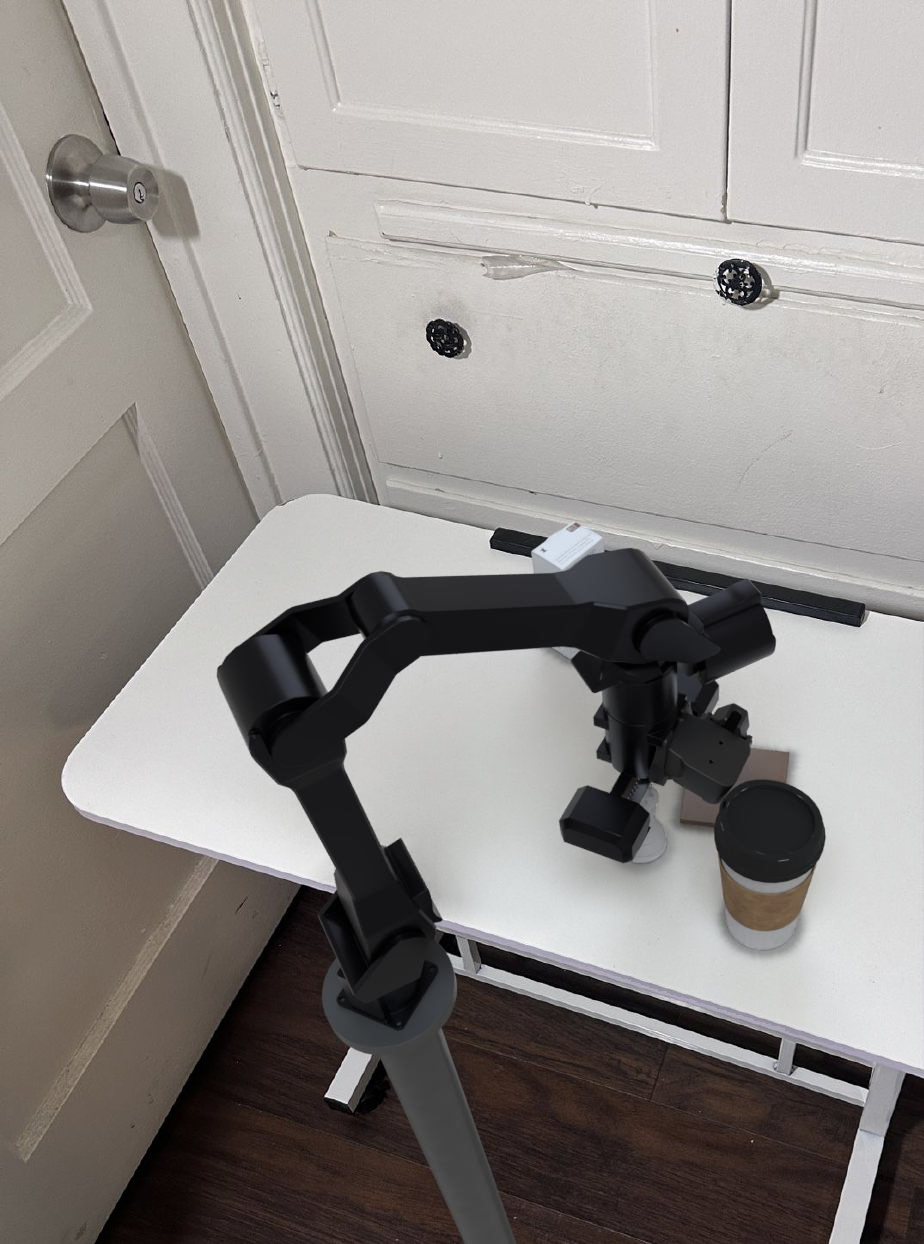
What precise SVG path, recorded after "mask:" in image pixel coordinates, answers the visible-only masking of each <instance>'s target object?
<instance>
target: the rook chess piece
mask: <svg viewBox="0 0 924 1244" xmlns="http://www.w3.org/2000/svg"><path fill="white" fill-rule="evenodd" d="M638 780H639V779H638ZM636 784H637V783H636ZM634 787H635V786H634ZM632 791H633V790H632ZM630 795H631V794H630ZM659 798H660V796H659V793H658V790H657V789H656V788H655V787H654V786H653V783H651V784H650V786H649V788H648V789H647V791H646V793H645V795H644V797H643V799H642V800H641V802H640V805H641V806H642V807H643V808H644V809H646V810H647V811H648V812H649V813H650V824H649V826H650V827H651V828H650V830H649V832H648V834H647V836H646V838H645V840H644V842H643V843H642V845H641V847H640V849H639V851H638V852H637V853H636V855H635V857H634V859H633V860H632V861H631V862H633V863H638V864H639V863H642V864H646V863H650V862H652V861H655V860H657V859H658V858H659V857H661V856H662V855H663V853H664V852H665V850H666V849H667V841H668V839H667V836H666V834H667V833H666V830H665V828H664V826H663V824H662V823H661V822H660V821H659V820H658V819H657V818H656V812H657V805H658V804H659ZM628 799H629V797H628Z"/></svg>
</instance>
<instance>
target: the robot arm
mask: <svg viewBox="0 0 924 1244" xmlns="http://www.w3.org/2000/svg"><path fill="white" fill-rule="evenodd" d="M762 601H763V594H762V592H761V591H760V590H759V589H758V588H757V587H756V586H755V585H754V583H752V581H751V580H750V579H749V578H744V579H741V580H739V581H737V582H735V583H733V584H731V585H729V586H728V587H725V589H722V590H721V591H718V592H716V593H713V594H711V595H709V596H706V597H703V598H701V599H699V600H696V601H694V602H692V603H689V604H688V603H687V601H686V600H685V598H683V596H682V595H681V594H680V593H679V592H678V590H677V589H676V588H675V586H673V584H672V583H671V581H669V580H668V578H667V577H666V576H665V574H663V572H662V570H660V568H659V567H658V566H657V565H656V564H655V563H654V561H653V560H652V559H651V558H650V556H648V555H647V554H646V552H644V551H643V550H641V549H639V548H634V547H625V548H619V549H614V550H608V551H604V552H602V553H597V554H591V555H587V556H584V557H583V558H582V559H580V560H579V561H578V562H577V563H575V564H574V565H573V566H572V567H570V568H569V569H568V570H566V571H561V572H555V573H535V574H534V573H508V574H507V573H506V574H505V573H504V574H501V573H500V574H471V575H467V574H466V575H440V576H439V575H437V576H436V575H435V576H433V575H432V576H408V577H407V576H405V577H404V576H398V575H395V574H393V572H391V571H390V572H389V571H383V570H379V571H374V572H370V573H367V574H366V575H363V576H362V577H361V578H359V579H358V580H356V581H355V582H354V583H352V584H351V585H350V586H348V587H347V588H345V589H344V590H343V591H341V592H340V593H339V594H337V595H333V596H329V597H326V598H322V599H318V600H313V601H309V602H305V603H301V604H296V605H293V606H291V607H289V608H287V609H286V610H284V611H283V612H281V613H280V614H278V616H276V617H275V618H274V619H272V620H271V621H269V622H268V623H267V624H266V625H264V626H263V627H261V628H260V629H259V630H257V631H256V632H255V633H254V634H252V635H251V636H249V637H248V638H247V639H245V640H244V641H243V642H241V643H240V644H239V645H237V646H235V647H234V648H233V649H232V650H231V651H230V652H229V653H228V654H227V655H226V656H225V657H224V659H223V661H222V663H221V664H220V665H218V666H217V668H216V679H217V682H218V685H219V688H220V691H221V692H222V695H223V697H224V699H225V702H226V703H227V706H228V708H229V710H230V712H231V714H232V717H233V719H234V721H235V723H236V726H237V728H238V731H239V733H240V735H241V736H242V739H243V741H244V743H245V746H246V748H247V750H248V753H249V755H250V756H251V758H252V760H253V761H254V762H255V763H256V764H257V765H258V766H259V767H260V768H261V769H262V770H263V771H264V772H265V773H266V774H267V775H268V777H270V778H271V780H273V781H274V782H275V783H276V784H277V785H278V786H282V787H284V788H287V789H290V790H291V791H292V792H293V793H294V795H295V796H296V799H297V801H298V802H299V804H300V806H301V808H302V810H303V811H304V813H305V815H306V817H307V819H308V820H309V822H310V824H311V826H312V828H313V829H314V832H315V833H316V836H317V837H318V839H319V840H320V843H321V844H322V846H323V847H324V851H326V853H327V856H328V857H329V859H330V860H331V862H332V864H333V866H334V868H335V869H334V871H333V877H334V883H335V888H336V890H335V891H334V892H333V893H332V894H331V896H330V897H329V899H328V900H327V901H326V903H325V904H324V905H323V907H321V909H320V911H319V912H318V913H317V917H318V920H319V923H320V924H321V926H322V929H323V931H324V933H325V935H326V937H327V940H328V942H329V945H330V946H331V947H330V948H331V949H332V951H333V954H334V955H335V959H336V958H337V960H338V962H339V964H340V969H339V970H338V972H337V976H338V978H339V980H340V982H341V984H342V986H343V989H342V990H341V992H340V993H339V995H338V996H337V999H336V1001H337V1003H338V1005H339V1006H341V1007H343V1008H346V1009H348V1010H350V1011H353V1012H355V1013H357V1014H359V1015H362V1016H364V1017H366V1018H369V1019H371V1020H373V1021H376V1022H378V1023H380V1024H383V1025H385V1026H387V1027H390V1028H392V1029H394V1030H397V1031H400V1030H402V1029H404V1027H405V1026H406V1024H407V1022H408V1021H409V1019H410V1018H411V1016H412V1014H413V1013H414V1011H415V1009H416V1008H417V1006H418V1004H419V1003H420V1001H421V999H422V998H423V996H424V995H425V993H426V991H427V990H428V988H429V986H430V985H431V983H432V981H433V980H434V978H435V976H436V975H437V973H438V967H437V965H436V964H434V963H432V962H429V961H427V960H425V956H426V953H427V949H428V943H429V942H430V941H434V940H436V937H437V933H438V930H437V926H436V923H441V922H442V921H443V920H444V918H443V917H442V915H441V913H440V912H439V911H440V910H438V907H437V905H436V904H435V902H434V900H433V898H432V895H431V891H430V890H429V888H428V886H427V884H426V882H425V880H424V878H423V876H422V875H421V873H420V871H419V869H418V866H417V865H416V863H415V861H414V859H413V858H412V855H411V854H410V851H409V850H408V848H407V846H406V844H405V842H404V840H403V839H402V837H400V838H398V839H397V840H395V841H393V842H391V843H389V844H388V845H382V843H381V842H380V840H379V838H378V836H377V834H376V832H375V830H374V827H373V826H372V823H371V822H370V819H369V817H368V815H367V813H366V811H365V809H364V807H363V805H362V803H361V800H360V798H359V796H358V794H357V792H356V789H355V787H354V786H353V784H352V781H351V779H350V777H349V775H348V774H347V771H346V768H345V761H346V757H347V754H348V748H347V741H346V739H347V738H348V737H350V736H351V735H352V734H353V733H354V732H356V731H358V729H361V728H362V727H363V726H364V725H365V724H366V723H367V722H368V721H369V720H370V719H371V718H372V716H373V714H374V712H375V711H376V709H377V707H378V706H379V705H380V703H381V701H382V699H383V697H384V696H385V694H386V693H387V691H388V689H389V688H390V686H391V685H392V683H393V681H394V680H395V678H396V676H397V675H398V674H400V673H401V672H402V671H404V670H405V669H407V668H408V667H409V666H410V665H412V664H413V663H414V662H416V661H417V660H419V658H421V657H434V656H448V655H463V654H478V653H492V652H507V651H520V650H535V649H551V648H552V647H567V648H575V649H578V650H580V651H579V652H577V654H576V655H575V656H574V657H573V658H572V659H570V664H571V665H572V667H573V669H574V670H575V671H576V672H577V674H578V675H579V677H580V678H581V679H582V681H583V682H584V684H585V685H586V687H587V688H588V690H589V691H590V692H591V693H592V694H598V693H600V692H601V700H602V702H601V704H600V705H599V706H598V708H597V710H596V711H595V713H594V714H593V716H592V719H593V726H594V727H597V728H600V729H603V730H604V737H603V739H602V740H601V742H600V743H599V745H598V746H597V748H596V749H595V753H596V759H597V760H599V761H602V762H606V763H608V764H611V766H612V768H613V769H614V770H615V771H617V772H618V773H619V776H618V777H617V779H616V781H615V782H614V784H613V786H612V787H611V789H610V791H609V792H608V791H606V790H602V789H599V788H597V787H594V786H592V785H588V784H587V785H584V786H581V787H578V788H577V789H576V791H575V792H574V794H573V796H572V797H571V799H570V801H569V802H568V805H566V808H565V809H564V811H563V813H562V814H561V816H560V817H559V819H558V825H559V832H560V836H561V838H562V841H563V843H565V844H569V845H571V846H574V847H576V848H580V849H583V850H585V851H587V852H591V853H593V854H596V855H599V856H601V857H604V858H607V859H610V860H612V861H616V862H618V863H620V864H626V863H630V862H633V861H632V860H633V859H634V857H635V855H636V853H637V852H638V851H639V849H640V847H641V845H642V843H643V842H644V840H645V838H646V836H647V834H648V832H649V830H650V828H651V827H650V826H649V824H650V813H649V812H648V811H647V810H646V809H644V808H643V807H642V806H641V805H640V802H641V800H642V799H643V797H644V795H645V793H646V791H647V789H648V788H649V786H650V784H654V785H658V786H661V787H665V785H666V784H667V782H668V781H673V782H674V783H675V784H677V785H679V786H680V787H682V788H684V789H685V788H686V789H687V790H689V791H691V792H693V793H694V794H696V795H698V796H700V797H701V798H702V800H704V801H705V802H707V803H709V804H718V803H720V802H721V801H722V800H723V799H724V797H725V796H726V795H727V793H728V792H729V791H730V789H731V788H732V787H733V786H734V784H735V783H736V781H737V779H738V777H739V775H740V773H741V771H742V769H743V767H744V765H745V763H746V761H747V759H748V757H749V755H750V752H751V749H750V748H751V746H752V744H753V738H754V737H753V736H752V735H751V734H748V731H749V728H750V717H749V712H748V711H749V710H747V709H745V708H743V707H742V706H740V705H738V704H736V703H735V702H733V703H730V704H726V705H722V706H720V707H718V708H716V707H717V704H718V702H719V699H720V684H719V683H718V682H717V681H716V680H718V679H721V678H723V677H725V676H727V675H730V674H732V673H734V672H736V671H738V670H741V669H743V668H745V667H748V666H750V665H752V664H754V663H756V662H758V661H760V660H763V659H765V658H768V657H770V656H772V655H773V654H774V652H775V651H776V647H777V638H776V636H775V634H774V632H773V628H772V624H771V621H770V619H769V616H768V614H767V611H766V610H765V607H764V606H763V604H762ZM357 635H361V637H362V639H363V640H362V641H361V642H360V643H359V645H358V646H357V648H356V650H355V651H354V653H353V654H352V655H351V658H350V659H349V660H348V662H347V664H346V666H345V667H344V669H343V670H342V672H341V674H340V675H339V677H338V679H337V680H336V682H335V684H334V685H333V687H332V688H331V689H330V690H329V691H328V690H327V688H326V686H325V684H324V682H323V680H322V678H321V676H320V674H319V672H318V670H317V668H316V666H315V665H314V663H313V661H312V659H311V657H310V655H309V653H311V652H312V651H314V650H315V649H316V648H317V647H319V646H320V645H321V644H324V643H326V642H331V641H336V640H341V639H343V638H348V637H352V636H357ZM715 708H716V710H715V711H714V709H715ZM713 712H714V713H713ZM638 779H639V780H638ZM636 783H637V784H636ZM634 786H635V787H634ZM632 790H633V791H632ZM630 794H631V795H630ZM628 797H629V799H628ZM431 968H434V969H435V970H434V971H430V969H431ZM343 998H344V999H345V1000H344V1001H343V1002H341V999H343ZM399 1022H400V1023H401V1025H400V1026H396V1024H397V1023H399Z"/></svg>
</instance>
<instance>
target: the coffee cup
mask: <svg viewBox="0 0 924 1244" xmlns="http://www.w3.org/2000/svg"><path fill="white" fill-rule="evenodd" d="M713 829H714V831H713V832H714V833H713V835H714V837H713V838H714V839H713V840H714V844H715V848H716V849H715V850H716V851H717V856H718V857H717V858H718V866H719V873H720V880H721V881H720V883H721V889H722V897H723V902H724V912H725V913H724V914H725V922H726V927H727V929H728V931H729V933H730V935H731V936H732V938H733V939H735V940H736V941H737V942H738V943H739V944H740V945H743V946H744V947H746V948H749V949H751V950H757V951H769V950H773V949H777V948H780V947H781V946H783V945H784V944H786V943H787V942H788V941H789V940H790V939H791V938H792V936H793V935H794V932H795V930H796V929H797V925H798V922H799V918H800V916H801V915H800V914H801V911H802V909H803V906H804V903H805V900H806V897H807V894H808V891H809V890H810V889H809V888H810V885H811V882H812V880H813V876H814V873H815V871H816V868H817V863H818V862H819V861H820V859H821V857H822V855H823V852H824V849H825V844H826V838H827V835H826V827H825V824H824V821H823V816H822V812H821V810H820V808H819V807H818V805H817V803H816V802H815V801H814V799H812V798H811V797H810V796H809V795H808V794H807V793H805V792H804V791H803V790H801V789H799V788H797V787H796V786H793V785H792V784H789V783H787V782H786V783H783V782H779V781H775V780H766V779H760V780H751V781H746V782H744V783H742V784H739V785H738V786H736V787H735V788H733V789H732V790H731V791H730V792H729V793H728V794H727V795H726V796H725V798H724V799H723V800H722V801H721V803H720V808H719V813H718V815H717V817H716V821H715V825H714V827H713Z"/></svg>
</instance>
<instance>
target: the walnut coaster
mask: <svg viewBox="0 0 924 1244" xmlns="http://www.w3.org/2000/svg"><path fill="white" fill-rule="evenodd" d="M750 749H751V752H750V755H749V757H748V759H747V761H746V763H745V765H744V767H743V769H742V771H741V773H740V775H739V777H738V779H737V781H736V783H735V784H734V786H733V787H732V788H731V789H730V791H731V790H732V789H733V788H735V787H736V786H738V785H739V784H742V783H744V782H746V781H751V780H760V779H766V780H775V781H779V782H783V783H786V784H787V780H788V779H787V778H788V768H789V760H790V752H789V751H781V750H773V749H765V748H753V747H750ZM730 791H729V792H730ZM729 792H728V793H729ZM728 793H727V794H728ZM724 798H725V797H724ZM681 803H682V804H681V809H680V810H681V811H680V815H679V823H680V824H685V825H694V826H695V825H696V826H704V827H713V828H714V825H715V821H716V817H717V815H718V813H719V808H720V803H721V802H720V803H718V804H709V803H707V802H705V801H704V800H702V798H701V797H700V796H698V795H696V794H694V793H693V792H691V791H689V790H687V789H686V788H684V792H683V797H682V802H681Z"/></svg>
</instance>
